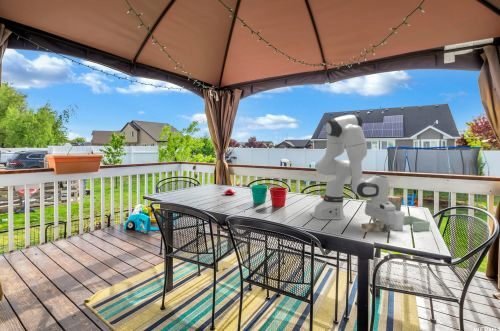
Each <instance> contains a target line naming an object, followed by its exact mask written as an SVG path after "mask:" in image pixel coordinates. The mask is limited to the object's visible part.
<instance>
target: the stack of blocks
mask: <svg viewBox="0 0 500 331" xmlns="http://www.w3.org/2000/svg"><path fill="white" fill-rule="evenodd" d="M388 198H389V201H390V202H391V203H392V204H393V205H395V207H396V209H395V210H396V211H401V209H402V197H400V196H397V195H388ZM368 200H371V198H366V204H367V201H368ZM366 204H365V205H366Z"/></svg>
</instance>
